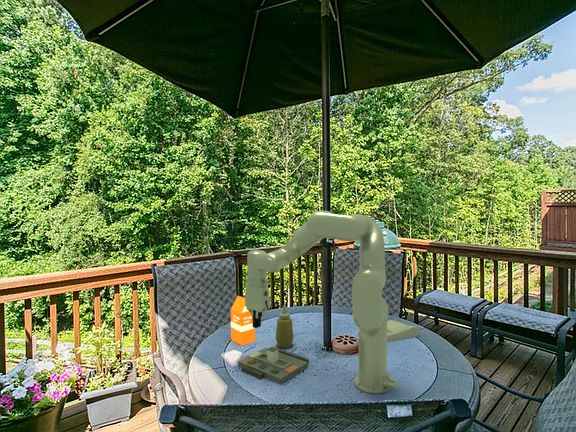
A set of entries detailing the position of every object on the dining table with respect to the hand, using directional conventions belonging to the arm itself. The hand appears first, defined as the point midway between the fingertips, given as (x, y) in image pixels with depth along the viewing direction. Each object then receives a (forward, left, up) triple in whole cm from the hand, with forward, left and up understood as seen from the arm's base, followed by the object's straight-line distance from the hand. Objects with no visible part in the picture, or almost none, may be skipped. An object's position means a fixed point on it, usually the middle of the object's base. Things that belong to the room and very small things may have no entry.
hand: (256, 326), depth 143 cm
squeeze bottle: (+1, -18, -14) cm, 23 cm away
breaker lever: (-8, 0, -12) cm, 14 cm away
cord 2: (-8, -11, -14) cm, 19 cm away
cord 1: (-6, +9, -14) cm, 18 cm away
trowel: (-31, -57, -15) cm, 66 cm away
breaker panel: (-8, 0, -14) cm, 16 cm away
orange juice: (+20, -11, -14) cm, 27 cm away
